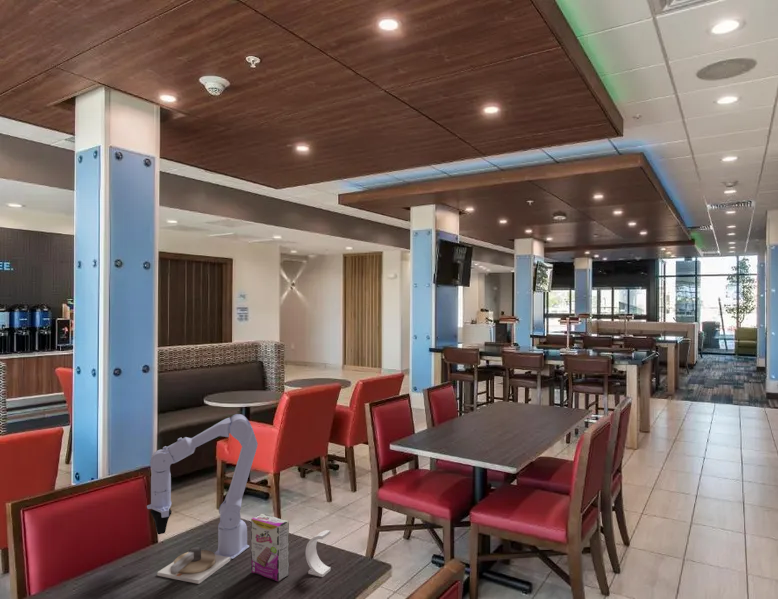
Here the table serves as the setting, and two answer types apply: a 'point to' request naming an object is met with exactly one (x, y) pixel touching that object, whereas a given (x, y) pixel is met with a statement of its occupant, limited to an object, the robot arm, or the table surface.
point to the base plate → (194, 577)
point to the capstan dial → (193, 561)
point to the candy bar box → (270, 547)
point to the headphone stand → (316, 556)
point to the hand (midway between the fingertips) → (161, 533)
